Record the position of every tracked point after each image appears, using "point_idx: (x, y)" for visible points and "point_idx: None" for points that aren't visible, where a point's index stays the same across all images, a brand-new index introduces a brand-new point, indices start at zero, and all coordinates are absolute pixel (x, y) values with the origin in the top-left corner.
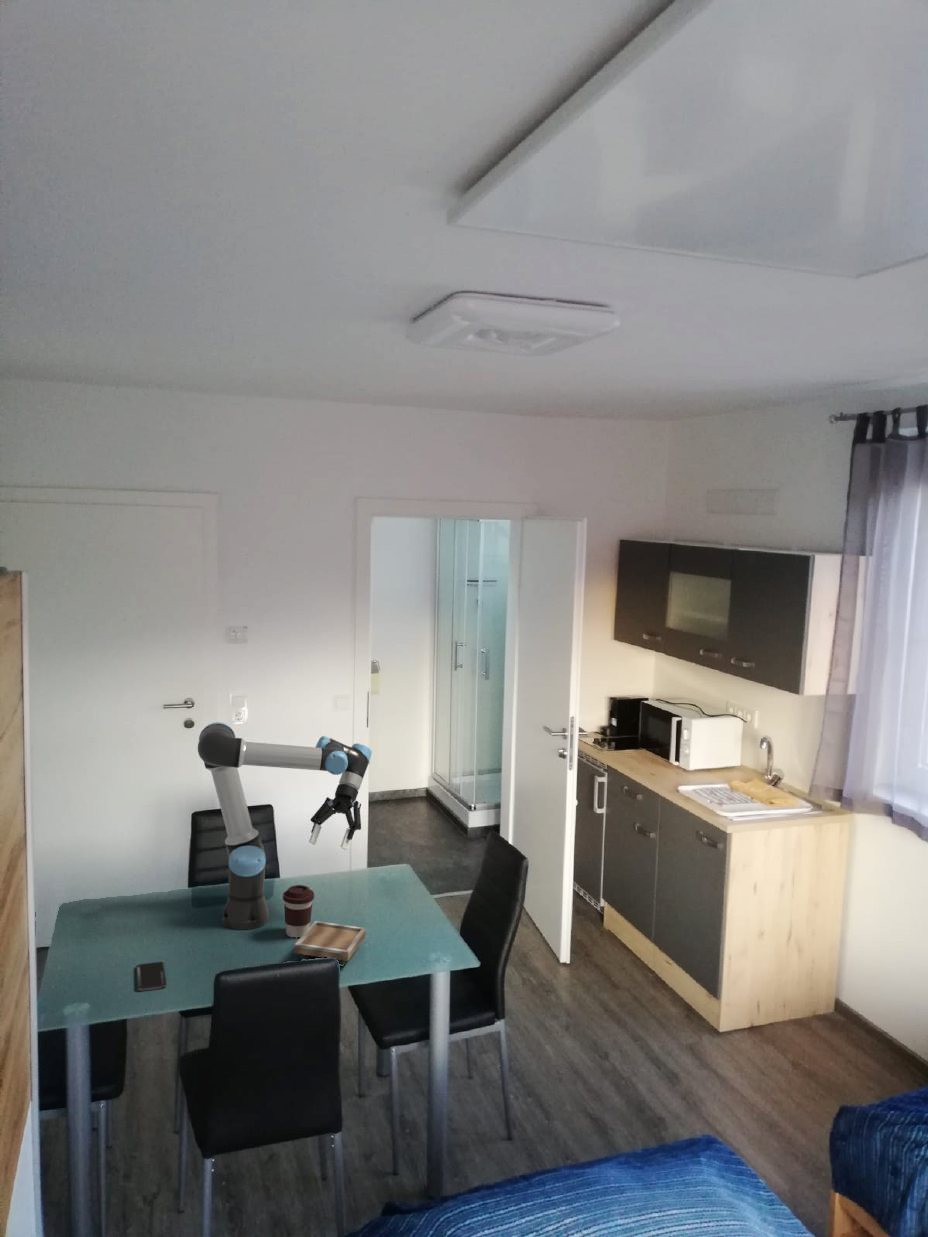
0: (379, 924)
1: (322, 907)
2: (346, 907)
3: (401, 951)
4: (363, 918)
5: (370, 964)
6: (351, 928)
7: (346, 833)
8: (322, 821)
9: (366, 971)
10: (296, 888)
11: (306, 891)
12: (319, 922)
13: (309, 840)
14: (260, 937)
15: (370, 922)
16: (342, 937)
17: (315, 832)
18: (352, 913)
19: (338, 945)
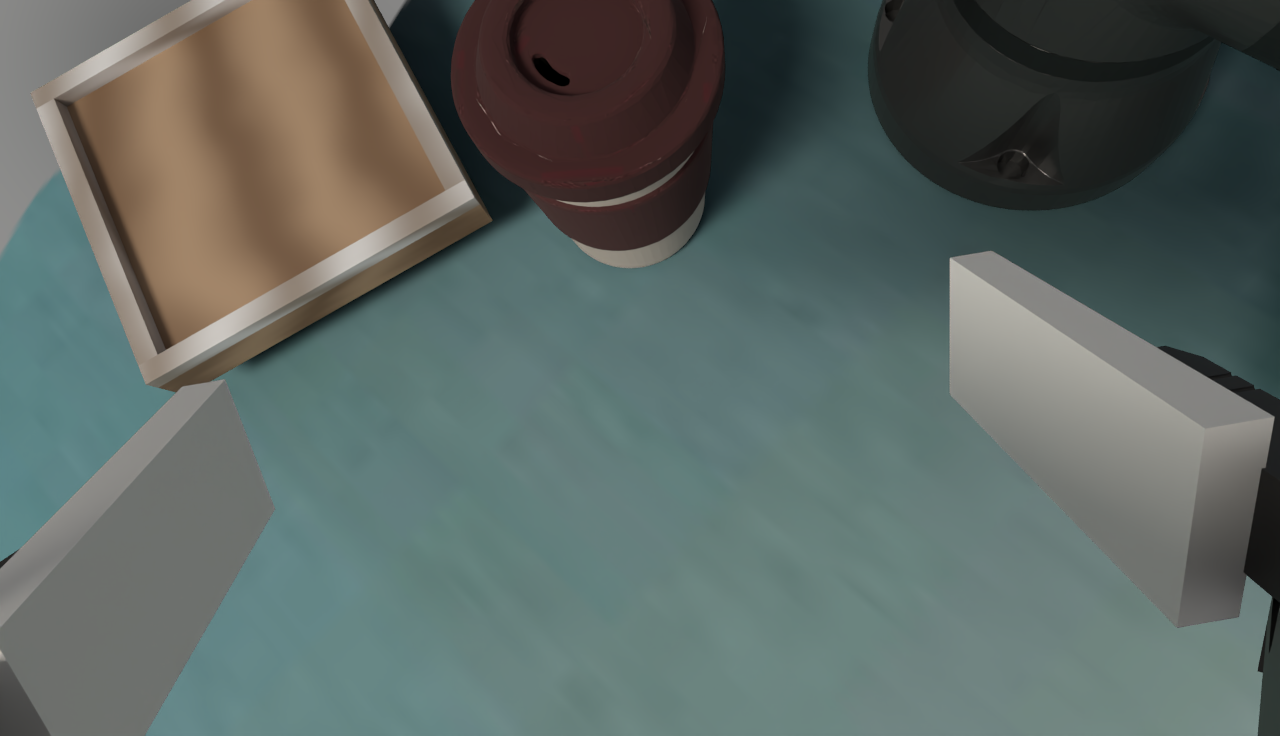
0: (350, 697)
1: (847, 589)
2: (723, 730)
3: (22, 517)
4: (495, 683)
5: (67, 279)
6: (226, 319)
7: (39, 543)
8: (1272, 674)
9: (39, 215)
10: (635, 53)
11: (484, 52)
12: (434, 203)
13: (1001, 257)
14: (745, 14)
15: (416, 672)
16: (206, 211)
17: (1063, 378)
18: (612, 685)
19: (154, 127)
